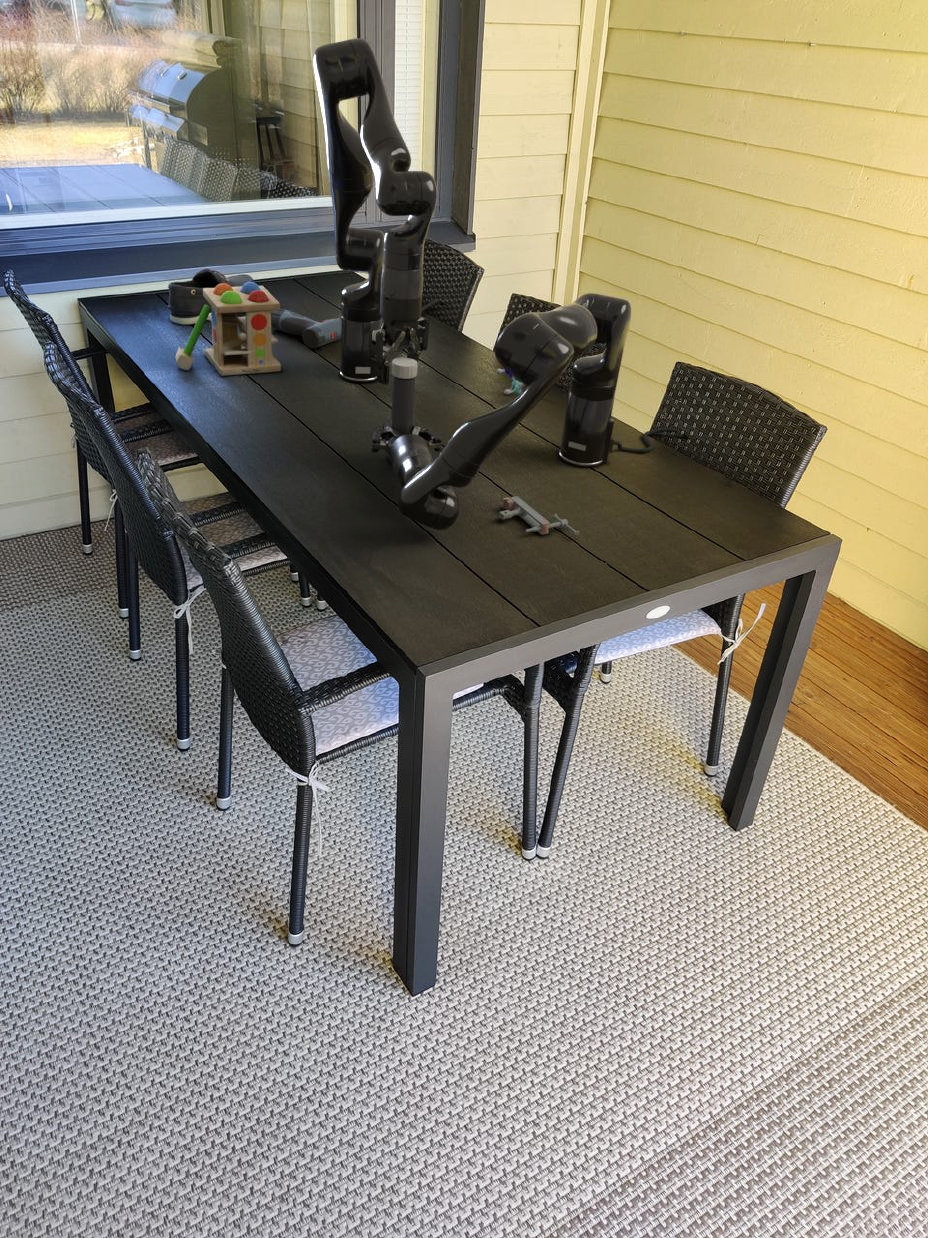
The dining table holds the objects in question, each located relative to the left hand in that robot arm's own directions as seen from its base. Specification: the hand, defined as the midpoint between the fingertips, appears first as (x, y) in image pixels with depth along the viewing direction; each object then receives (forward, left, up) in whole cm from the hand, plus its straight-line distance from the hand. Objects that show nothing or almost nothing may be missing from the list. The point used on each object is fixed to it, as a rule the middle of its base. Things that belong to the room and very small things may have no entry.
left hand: (397, 378), depth 186 cm
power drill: (-46, -61, -17) cm, 78 cm away
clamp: (+4, +35, -17) cm, 39 cm away
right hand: (-3, -1, -11) cm, 11 cm away
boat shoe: (-43, -91, -17) cm, 102 cm away
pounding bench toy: (-14, -60, -17) cm, 64 cm away
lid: (-1, +1, +3) cm, 3 cm away
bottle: (-1, +1, -17) cm, 17 cm away
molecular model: (-48, +1, -17) cm, 51 cm away
